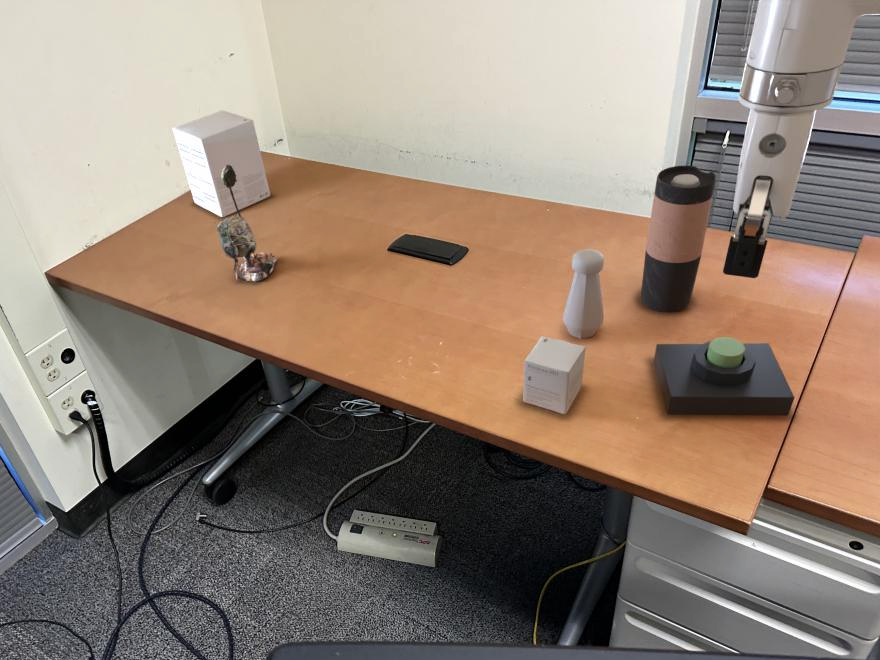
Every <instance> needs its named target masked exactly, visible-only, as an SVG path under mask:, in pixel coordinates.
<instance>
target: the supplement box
mask: <svg viewBox="0 0 880 660" xmlns="http://www.w3.org/2000/svg"><path fill="white" fill-rule="evenodd" d="M172 132H173V135H174V138H175V142H176V146H177V148H178V151H179V156H180V159H181V162H182V165H183V168H184V173H185V175H186V178H187V182H188V185H189V189H190V191H191V196H192V199H193V201H194V204H196V205H198V206H200V207H201V208H203V209H205V210H207V211H209V212H211V213H212V214H215V215H217V216H218V217H221V218H225V217H227V216H229V215H231V214H234V213H237V210H236V207H235V205H234V201H233V199H232V196H231V193H230V189H229V188H227V187H226V186H225V185H224V183H223V181H222V178H221V173H222V171H223V169H224V167H225V166H226V165H231V166H232V168H233V170H234V171H235V174H236V180H237V182H235V185H234V186H233V187H231V188H232V192H233V196H234V199H235V202H236V204H237V208H238V210H239V211H241V210H243V209H245V208H247V207H249V206H252V205H254V204H256V203H258V202H260V201H263V200H266V199H268V198H269V197H271V191H270V187H269V181H268V179H267V174H266V170H265V166H264V162H263V157H262V152H261V149H260V143H259V140H258V136H257V132H256V128H255V122H254V119H252V118H248V117H245V116H242V115H239V114H236V113H232V112H229V111H226V110H218V111H216V112H213V113H211V114H208V115H205V116H203V117H200V118H198V119H197V118H196V119H195V120H192V121H188V122H186V123H184V124H180V125H178V126H174V127H172Z"/></svg>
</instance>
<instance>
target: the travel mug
mask: <svg viewBox="0 0 880 660" xmlns="http://www.w3.org/2000/svg"><path fill="white" fill-rule="evenodd" d="M655 181H656V182H655V188H654V195H653V201H652V208H651V213H650V220H649V226H648V232H647V234H648V235H647V239H646V244H645V254H644V261H643V271H642V280H641V291H640V300H641V302H642V304H643V305H644V306H645V307H647V308H648V309H651V310H653V311H657V312H661V313H674V312H680V311H682V310H684V309H686V308H687V307H689V305H690V302H691V300H692V295H693V292H694V288H695V284H696V279H697V275H698V270H699V267H700V263H701V258H702V254H703V249H704V245H705V239H706V234H707V229H708V222H709V217H710V212H711V207H712V204H713V203H712V202H713V198H714V192H715V187H716V181H717V176H716V174H715V172H714V171H710V172H704V171H702V170H700V169H699V168H698V167H697V166H695V165H674V166H669V167H667V168H665V169H662V170H661V171H659V172H658V174H657V177H656V180H655Z"/></svg>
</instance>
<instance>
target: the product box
mask: <svg viewBox="0 0 880 660" xmlns="http://www.w3.org/2000/svg"><path fill="white" fill-rule="evenodd" d="M586 349H587V347H586V346H584V345H580V344H576V343H573V342H569V341H566V340H563V339H556V338H552V337H548V336H544V335H541V337H540V338H539V340H538V341H537V342H536V343H535V345H534V347H533V348H532V350H531V351H530V352H529V354H528V355H527V357H526V358H525V359H524V368H523V369H524V370H523V395H522V397H523V398H522V401H523V402H524V403H526V404H530V405H533V406H536V407H540V408H543V409H546V410H548V411H553V412H555V413H559V414H561V415H567V413H568V412H569V410H570V408H571V406H572V404H573V402H574V401H575V399H576V398H577V396H578V394H579V392H580V391H581V390H582V384H583V377H584V368H585V367H584V366H585V357H586Z"/></svg>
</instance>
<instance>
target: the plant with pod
mask: <svg viewBox="0 0 880 660" xmlns="http://www.w3.org/2000/svg"><path fill="white" fill-rule="evenodd" d="M221 178H222V181H223V183H224V185H225V186H226V187H227V188H229V189H230V193H231V196H232V199H233V201H234V205H235V207H236V210H237V211H236V213H237V214H234V215H232V216H230V217H226V218H224V219H223V220H221V221H220V222H219V223H218V225H217V227H216V229H217V233H218V236H219V237H218V238H219V242H220V245H221V248H222V251H223V253H224V254H225V256H226V258H229V259H232V260H233V261H234V262H233V263H234V265H233V270H234V274H235V280H241V281H245V282H248V281H249V282H259V281H262V280H264V279H266V278H267V277H268V276H269V275H270V274H271V273H272V272H273V271H274V267H275V265H276V264H277V262H276V261H278V260H279V259H278V258H277V256H275V255H273V253H269V254H268V253H266V252H265V251H261V252H260V253H255V252H256V250H257V248H258V247H257V245H258V244H257V241H256V237H255V234H254V232H253V230H252V228H251V226H250V224H249V223H248V221H247V220H246V218H245V217H243V216H242V215H241V213H240V210H238V208H237V204H236V202H235V199H234V196H233V192H232V188H231V187H233V186H234V185H235V182H237V180H236V174H235V171H234V170H233V168H232V166H231V165H226V166H225V167H224V169H223V171H222V173H221ZM214 224H217V223H216V221H214ZM239 258H242V259H243V260H244V262H242V263H241V264H240V265H239Z"/></svg>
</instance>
